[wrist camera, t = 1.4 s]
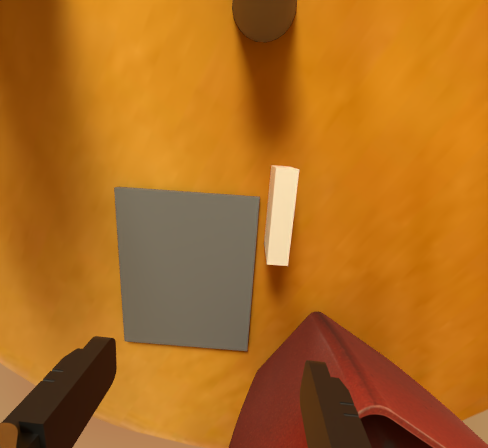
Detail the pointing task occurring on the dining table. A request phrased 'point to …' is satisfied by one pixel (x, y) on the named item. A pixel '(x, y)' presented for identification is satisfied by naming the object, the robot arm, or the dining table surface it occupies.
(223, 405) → the dining table surface
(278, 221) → the card box
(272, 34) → the cork
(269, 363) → the plant pot
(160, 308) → the mat
